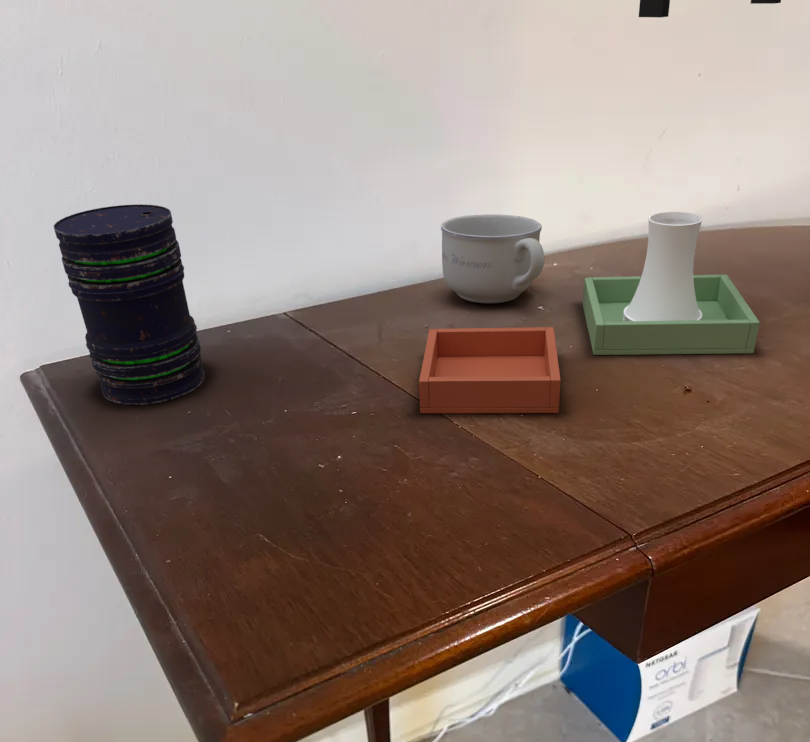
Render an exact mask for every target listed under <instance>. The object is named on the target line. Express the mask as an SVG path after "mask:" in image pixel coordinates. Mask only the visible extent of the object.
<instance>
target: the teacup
mask: <svg viewBox="0 0 810 742" xmlns="http://www.w3.org/2000/svg"><path fill="white" fill-rule="evenodd" d="M542 229H543V226H542V224H541V223H540V222H539V221H538V220H536V219H533V218H531V217H530V218H529V217H525V216H522V215H521V216H520V215H511V214H497V213H496V214H495V213H493V214H492V213H491V214H490V213H489V214H487V213H486V214H471V215H470V214H469V215H463V216H456V217H453V218H449V219H447V220H444V221H442V222H441V225H440V230H441V263H442V264H441V265H442V266H441V267H442V275H443V278H444V281H445V283H446V284H447V286H448V287H449V288H450V289H451V290H453V291H454V292H455V293H456V294H457V296H458V297H460V298H461V299H463V300H465V301H468V302H472V303H478V304H479V303H480V304H500V303H507V302H510V301H513V300H515V299H516V298H518V297H519V296H520V295H521V294H522V293H523V292H525V291H526V290H527V289H528V288H529V287H530V286H531V285H532V283H533V282H534V281H535V280H536V279H537V278H538V277H539V276H540V275H541V273H542V272H543V270H544V266H545V251H544V248H543V246H542V244H541V242H540V240H541V239H540V237H541V231H542Z"/></svg>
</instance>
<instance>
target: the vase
mask: <svg viewBox="0 0 810 742" xmlns="http://www.w3.org/2000/svg"><path fill="white" fill-rule="evenodd" d="M702 222H703V217H702V216H700V215H699V214H695V213H693V212H684V211H663V212H657V213H653V214H651V215H649V216H648V221H647V223H648V236H647V238H648V239H647V249H646V257H645V260H644V261H645V262H644V266H643V269H642V273H641V275H640V276H641V279H640V282H639V285H638V288H637V290H636V292H635V295H634V297H633V299H632V301H631V303H630V305H628V306H627V307H626V308H625V309H624V317H623V321H688V320H701V318H702V312H701V310H700V309H698V306H697V301H696V296H695V289H694V275H695V273H694V271H695V270H694V266H695V255H696V247H697V242H698V237H699V233H700V230H701V226H702Z"/></svg>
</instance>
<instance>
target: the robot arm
mask: <svg viewBox="0 0 810 742" xmlns="http://www.w3.org/2000/svg"><path fill="white" fill-rule="evenodd" d="M781 2H782V0H750V4H751V5H752V4H756V5H757V4H759V5H761V4H762V5H763V4H764V5H765V4H770V5H771V4H772V5H773V4H774V5H775V4H781ZM670 4H671V0H639V8H638V18H668V17H669V16H670V15H669V13H670V6H671V5H670Z"/></svg>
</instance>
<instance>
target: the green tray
mask: <svg viewBox="0 0 810 742" xmlns="http://www.w3.org/2000/svg"><path fill="white" fill-rule="evenodd" d="M641 276H642V275H640V276H639V275H637V276H633V275H632V276H594V277H593V276H591V277H589V276H588V277H584V279H583V293H582V309H583V313H584V317H585V322H586V327H587V332H588V335H589V341H590V345H591V349H592V354H593V355H594V356H619V355H621V356H625V355H626V356H628V355H630V356H631V355H714V354H715V355H718V354H719V355H720V354H721V355H724V354H754V353H755V349H756V342H757V340H758V339H757V338H758V335H759V334H758V333H759V329H760V325H761V322H760V320H759V319H758V318H757V316H756V314H755V312H753V310H752V309H751V307H750V305H749V304H748V303H747V301H746V300H745V299H744V297H743V296H742V294H741V293H740V292H739V290H738V288H737V287H736V286H735V284H734V282H732V280H731V278H730V277H729V275H728V274H694V289H695V296H696V301H697V306H698V309H700V310H701V312H702V318H701V320H688V321H623V317H624V309H625V308H626V307H627V306H628V305H630V303H631V301H632V299H633V297H634V295H635V292H636V290H637V288H638V285H639V282H640V279H641Z"/></svg>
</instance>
